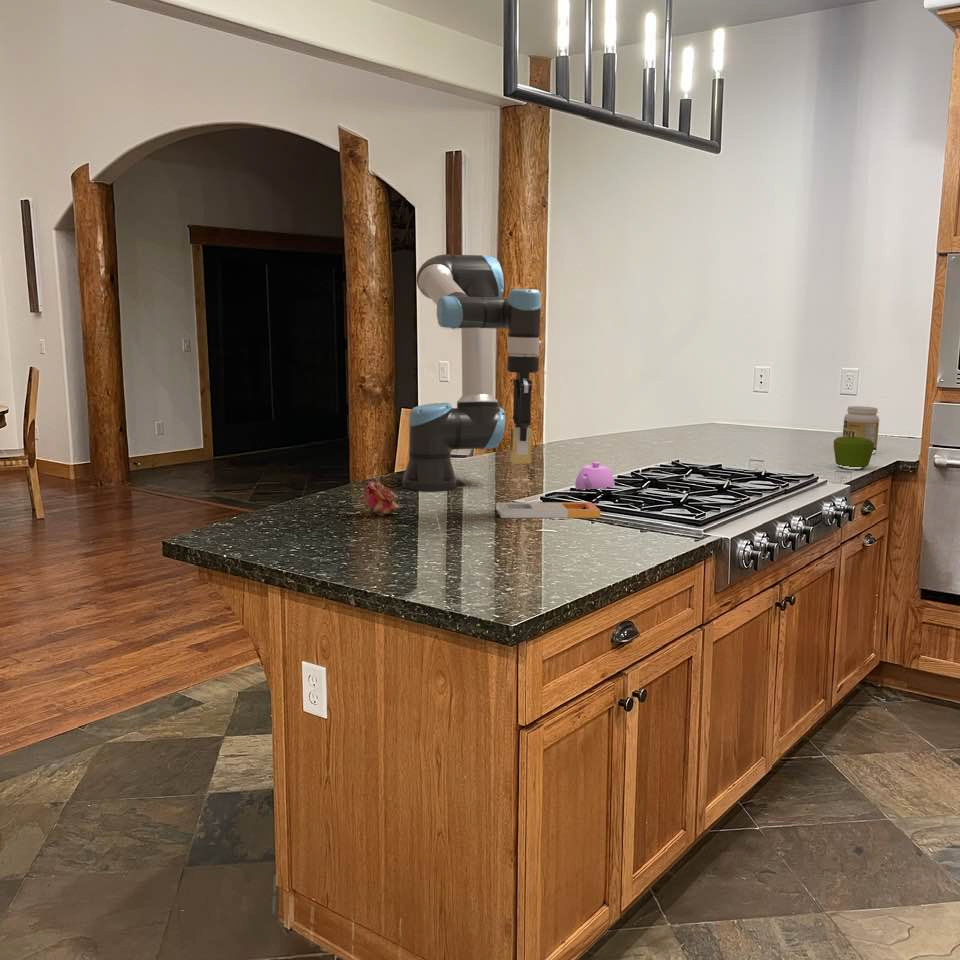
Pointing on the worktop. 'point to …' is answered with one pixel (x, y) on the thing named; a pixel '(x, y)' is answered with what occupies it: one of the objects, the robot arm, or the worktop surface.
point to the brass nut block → (513, 456)
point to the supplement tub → (862, 423)
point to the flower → (380, 499)
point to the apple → (853, 451)
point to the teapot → (594, 477)
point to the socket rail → (547, 510)
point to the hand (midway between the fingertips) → (520, 452)
